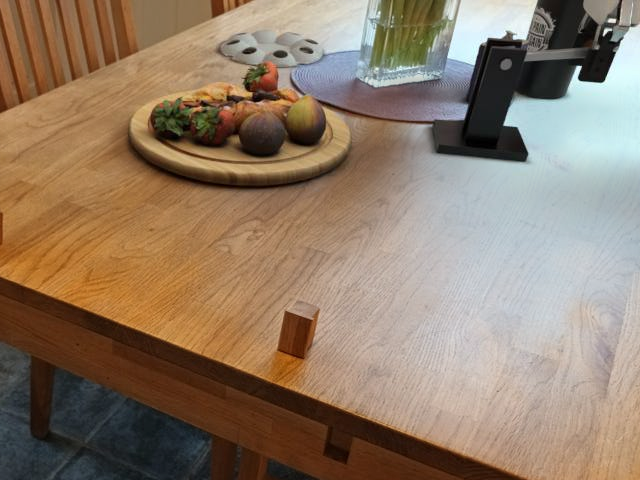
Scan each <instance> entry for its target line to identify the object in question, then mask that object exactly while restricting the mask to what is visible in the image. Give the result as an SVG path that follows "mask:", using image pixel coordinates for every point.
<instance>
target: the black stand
mask: <svg viewBox="0 0 640 480" xmlns="http://www.w3.org/2000/svg"><path fill="white" fill-rule="evenodd" d="M485 42H486V46H485V49H484V53H483V56H482V60H481V63H480V67H479V70H478V73H477V77H476V80H475V84H474V87H473V91H472V94H471V98H470V101H469V103H468V105H467V108H466V111H465V112H466V113H465V116H464V119H463V121H458V120H448V119H438V118H437V119H435V118H434V119H433V122H432V133H433V138H434V143H435V149H436V153H437V154H448V155H458V156H459V155H460V156H468V157H478V158H488V159H499V160H508V161H516V162H517V161H519V162H526V161H527V159H528V157H529V150H528V148H527V146H526V144H525V142H524V139H523V137H522V134H521V132H520V129H519V127H518V126H512V125H505V122H506V119H507V115H508V113H509V109H510V107H511V104H512V100H513V97H514V94H515V92H516V91H515V88H516V85H517V82H518V79H519V75H520V72H521V69H522V66H523V63H524V60H525V57H526V54H527V49H525V48H521V46H522V43H523V42H522V40H515V39H501V38H498V37H487V39H486V41H485ZM502 46H515V48H512V47H502Z"/></svg>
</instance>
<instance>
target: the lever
mask: <svg viewBox="0 0 640 480" xmlns="http://www.w3.org/2000/svg"><path fill="white" fill-rule="evenodd" d="M593 43H594V40H587V41H585V42H584V44H583V46H582V48H571V49H556V50H541V51H527V54H526V57H525V60H524V61H538V60H554V59H570V58H585V57H586V54H587V51H588V49H589V48H592V47H593ZM502 47H512V48H515V46H502Z"/></svg>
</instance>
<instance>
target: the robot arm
mask: <svg viewBox="0 0 640 480" xmlns="http://www.w3.org/2000/svg"><path fill="white" fill-rule="evenodd" d="M583 6H584V9H585V10H586V11H585V13H584V18H583V20H582V22H581V24H580V26H579V29H578V33H577V35H576V38H575V40H574V43H573V46H572V48H582V46H583V44H584V42H585V41H587V40H594V43H593V47H592V48H589V49H588V51H587V54H586V57H585V58H570V59H567V64H568V65H573V66H577V67H580V70H579V72H578V75H577V80H578V81H579V82H582V83H595V84H604V82H605V81H606V79H607V77H608V74H609V71H610V69H611V67H612V64H613V62H614V60H615V57H616V55H617V53H618V51H619V49H620V46H621V43H622V41H623V40H624V38H625V36H626V34H627V33H628V32H629V30H630V28H636V27H638V26H639V25H640V0H584V3H583ZM609 20H615V22H611V21H610V22H609ZM605 30H607V32H606V33H604V32H605ZM581 33H582V34H581Z"/></svg>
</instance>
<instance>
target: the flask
mask: <svg viewBox="0 0 640 480" xmlns="http://www.w3.org/2000/svg"><path fill="white" fill-rule="evenodd" d="M505 33H506V34H505V35H504V36H502V37H500V39H513V40H522V42H523V43H522V46H521V48H525V49H527V48H528V45H529V42H528V41H527V40H526V39H522V38H516V39H515V38H514V36H517V35H518V33H515V32H512V30H508V29H507V30H505ZM486 42H487V41H485V42H482V43H481V44H480V45H479V46H478V51H477V55H476V57H475V62H474V66H473V70H472V73H471V77H470V82H469V86H468V89H467V93H466V96H465V100H464V102H466V103H467V104H469V101H470V98H471V94H472V91H473V87H474V84H475V80H476V77H477V73H478V70H479V67H480V63H481V60H482V56H483V53H484V49H485V46H486Z"/></svg>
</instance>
